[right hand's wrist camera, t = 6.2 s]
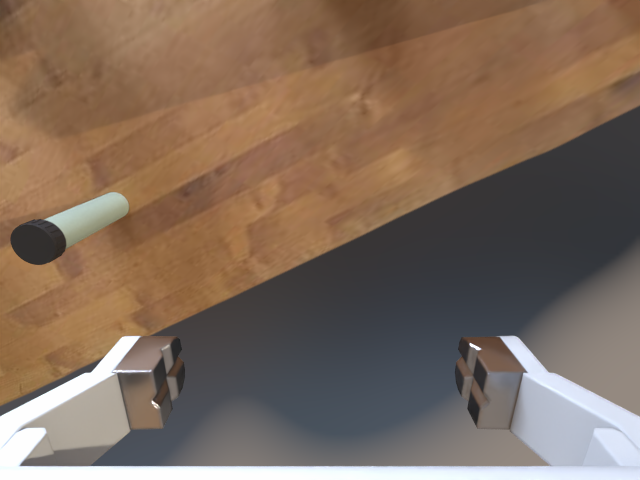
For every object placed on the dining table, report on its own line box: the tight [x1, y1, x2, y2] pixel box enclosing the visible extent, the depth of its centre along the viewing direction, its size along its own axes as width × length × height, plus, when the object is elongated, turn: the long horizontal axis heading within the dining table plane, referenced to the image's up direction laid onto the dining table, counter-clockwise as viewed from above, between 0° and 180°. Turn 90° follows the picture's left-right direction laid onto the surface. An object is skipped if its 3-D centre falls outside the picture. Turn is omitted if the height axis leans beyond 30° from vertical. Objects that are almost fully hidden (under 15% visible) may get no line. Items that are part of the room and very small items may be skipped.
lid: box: [11, 219, 66, 265], centre depth 43 cm, size 5×5×2 cm
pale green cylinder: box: [44, 192, 129, 249], centre depth 50 cm, size 4×4×18 cm
